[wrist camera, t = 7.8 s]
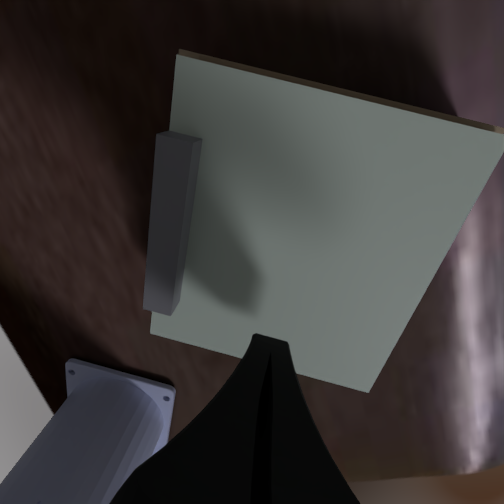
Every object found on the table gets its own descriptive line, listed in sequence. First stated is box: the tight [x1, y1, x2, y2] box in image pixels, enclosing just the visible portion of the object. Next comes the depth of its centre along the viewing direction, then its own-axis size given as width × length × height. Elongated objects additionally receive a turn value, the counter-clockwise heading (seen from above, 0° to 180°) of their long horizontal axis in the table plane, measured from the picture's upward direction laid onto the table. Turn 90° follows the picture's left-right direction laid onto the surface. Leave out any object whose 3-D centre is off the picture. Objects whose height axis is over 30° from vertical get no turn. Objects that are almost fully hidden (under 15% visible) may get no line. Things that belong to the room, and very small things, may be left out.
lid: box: [143, 54, 504, 393], centre depth 12 cm, size 12×11×2 cm
